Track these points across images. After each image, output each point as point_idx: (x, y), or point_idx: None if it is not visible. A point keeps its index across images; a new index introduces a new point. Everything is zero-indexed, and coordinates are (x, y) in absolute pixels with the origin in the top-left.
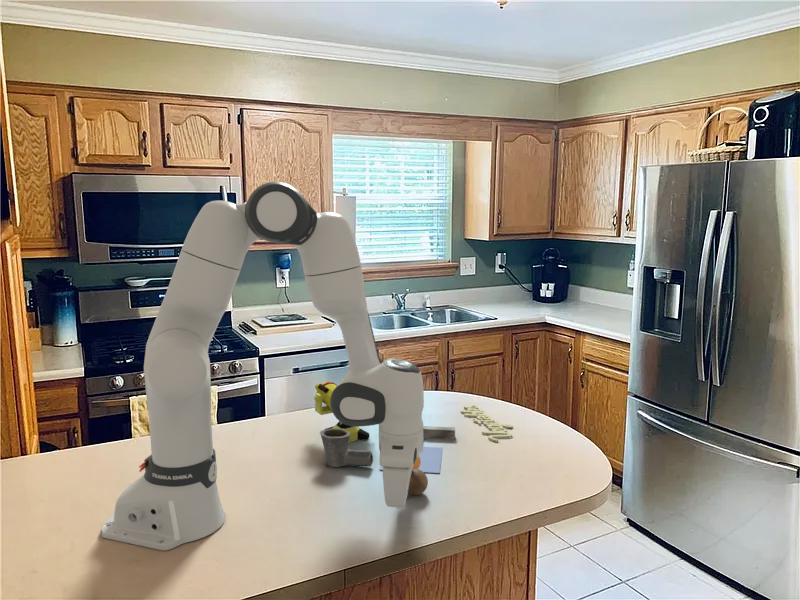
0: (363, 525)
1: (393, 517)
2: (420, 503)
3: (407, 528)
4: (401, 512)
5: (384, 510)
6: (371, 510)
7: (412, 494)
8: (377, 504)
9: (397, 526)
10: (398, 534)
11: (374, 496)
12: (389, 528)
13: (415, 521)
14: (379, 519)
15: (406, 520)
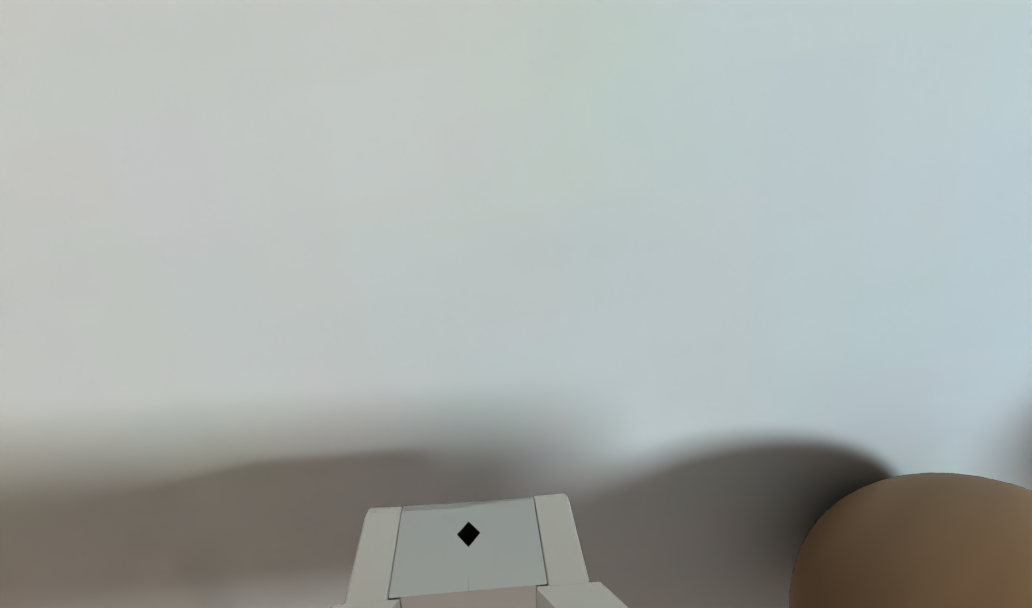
0: (8, 69)
1: (351, 411)
2: (672, 587)
3: (177, 566)
4: (476, 467)
5: (488, 286)
6: (458, 112)
7: (803, 542)
8: (630, 169)
9: (176, 479)
10: (21, 514)
11: (850, 83)
12: (97, 412)
13: (332, 602)
14: (255, 266)
15: (327, 534)
